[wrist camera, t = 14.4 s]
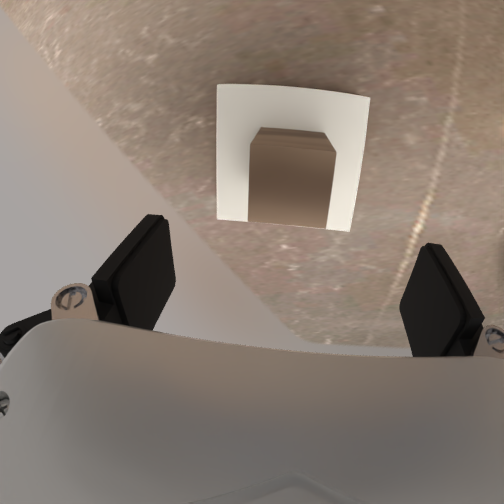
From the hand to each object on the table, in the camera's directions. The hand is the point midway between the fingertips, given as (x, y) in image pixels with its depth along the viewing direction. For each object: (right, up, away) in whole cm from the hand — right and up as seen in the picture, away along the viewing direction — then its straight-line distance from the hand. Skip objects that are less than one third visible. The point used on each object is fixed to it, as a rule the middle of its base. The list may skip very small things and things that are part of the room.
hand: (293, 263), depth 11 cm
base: (+2, +10, +16) cm, 19 cm away
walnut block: (+2, +8, +13) cm, 15 cm away
